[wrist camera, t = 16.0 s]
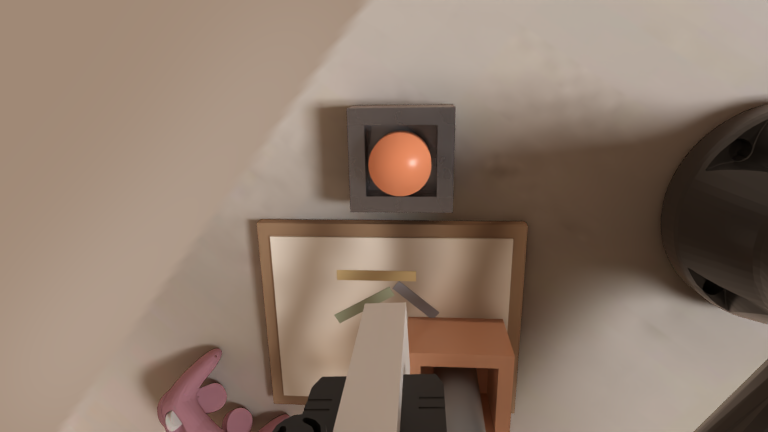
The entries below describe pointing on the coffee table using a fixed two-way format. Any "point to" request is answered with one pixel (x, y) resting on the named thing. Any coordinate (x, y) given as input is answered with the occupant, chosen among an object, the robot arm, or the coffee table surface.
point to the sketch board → (378, 285)
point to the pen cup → (468, 358)
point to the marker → (461, 399)
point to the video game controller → (203, 403)
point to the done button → (400, 163)
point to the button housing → (419, 119)
